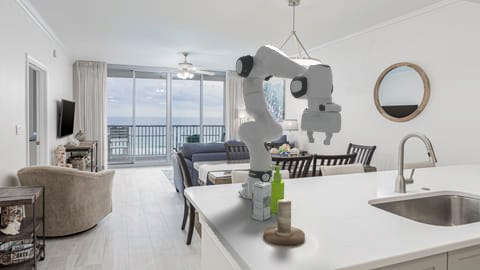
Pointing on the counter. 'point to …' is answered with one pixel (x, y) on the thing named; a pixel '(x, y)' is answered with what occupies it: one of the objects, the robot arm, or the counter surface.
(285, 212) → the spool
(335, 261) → the counter surface
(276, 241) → the base
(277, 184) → the soap dispenser
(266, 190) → the syrup box
